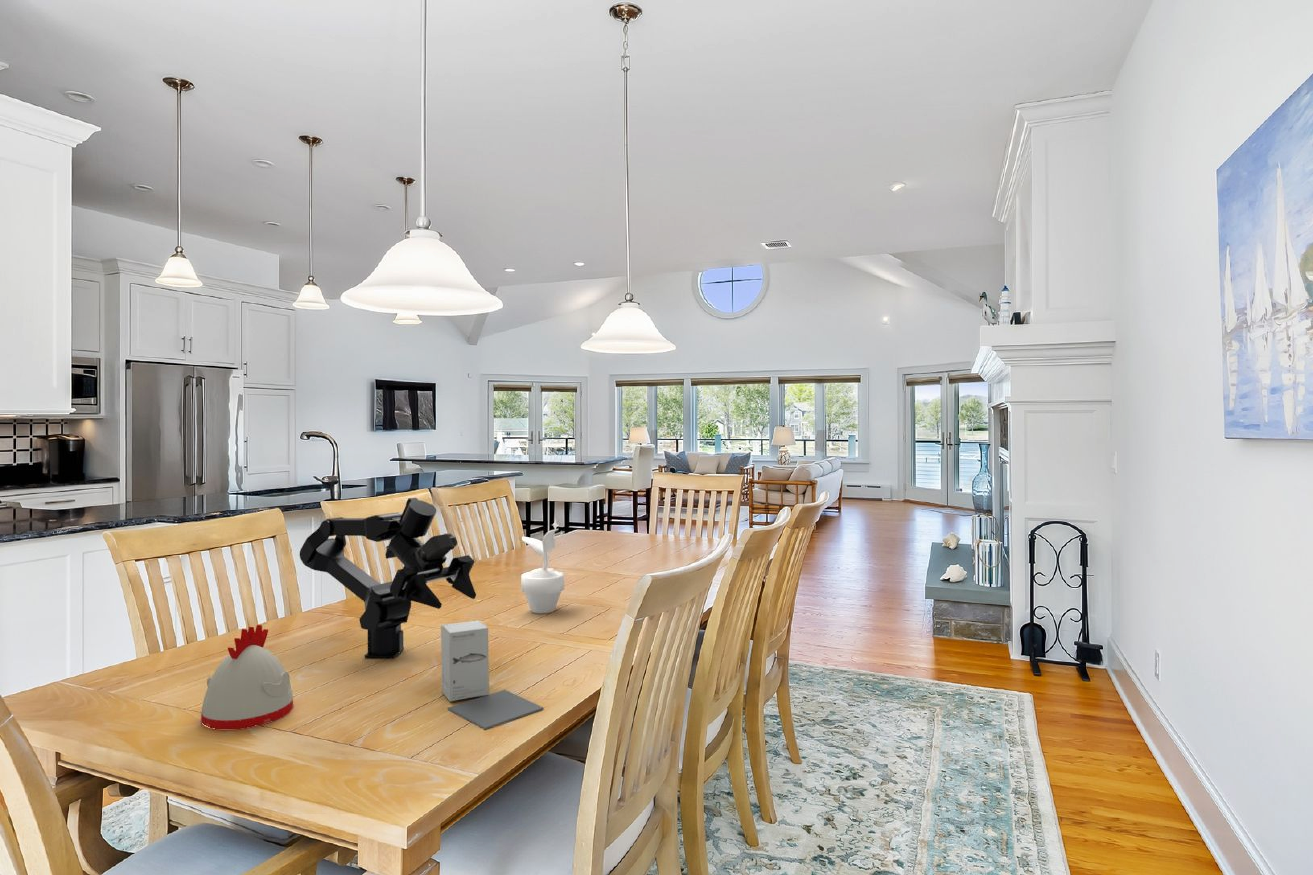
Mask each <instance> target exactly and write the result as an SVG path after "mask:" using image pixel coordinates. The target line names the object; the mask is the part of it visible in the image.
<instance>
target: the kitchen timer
mask: <svg viewBox="0 0 1313 875" xmlns="http://www.w3.org/2000/svg"><path fill="white" fill-rule="evenodd" d="M268 633H269V629H268V628H267V629H266V628H263V625H262V624H256V626H255V628H254V626H248V628H241V633H240V638H239V637H237V638H236V637H234V645H235V648H234V647H229V646H228V647H227V651H228V655H227V656H225V658H224V659H223V660H222V661H221V662H220V663H219V665H218V666H217V668H216V669H215V670H214V672H213V674H212V676H208V677H207V680H206V685H207V689H206V691H205V694H204V699H203V701H202V707H201V712H200V713H201V714H200V718H201V720H200V721H202V723H203V724H204V725H206V726H208V727H210V728H215V729H214V730H216V729H237V730H242V729H241V728H245V729H248V728H247V727H250V728H253V727H252V726H255V725H260V726H263V725H266V724H269V723H272V722H271V721H273V722H276V720H279V719H282V718H283V717H285V716H287V713H288V714H289V713H290V712H291V711H292V710H293V709H294V697H293V690H292V686H291V683H290V682H291V681H290V680H291V679H290V678H291V677H290V673H289V672H287V671H286V669H285V667H284V666H283V664H282V663H281V660H279V658H278V657H277V656H275V655H274V654H273V653H272V652H271V651H270V650H268V649H267V648H264V646H265V643H266V640H267V636H268ZM281 717H282V718H281ZM268 722H269V723H268ZM202 723H201V724H202ZM265 723H266V724H265ZM203 724H202V725H203ZM262 724H263V725H262ZM204 725H203V726H204ZM255 727H256V726H255ZM210 728H209V729H210Z"/></svg>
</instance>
